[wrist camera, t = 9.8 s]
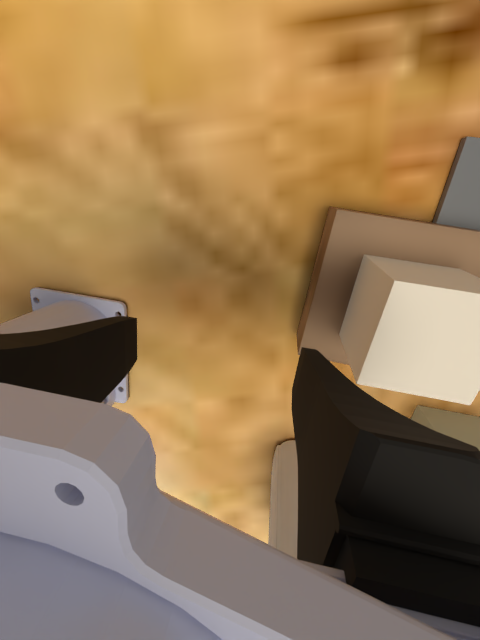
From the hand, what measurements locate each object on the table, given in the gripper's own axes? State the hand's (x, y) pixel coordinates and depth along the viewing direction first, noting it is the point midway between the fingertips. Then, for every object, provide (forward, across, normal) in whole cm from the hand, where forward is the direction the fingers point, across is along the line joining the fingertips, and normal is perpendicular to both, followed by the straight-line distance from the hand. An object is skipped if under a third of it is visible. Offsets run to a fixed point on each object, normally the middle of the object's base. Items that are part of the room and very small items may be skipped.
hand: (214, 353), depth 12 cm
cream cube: (+6, -9, -2) cm, 11 cm away
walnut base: (+9, -9, -2) cm, 13 cm away
